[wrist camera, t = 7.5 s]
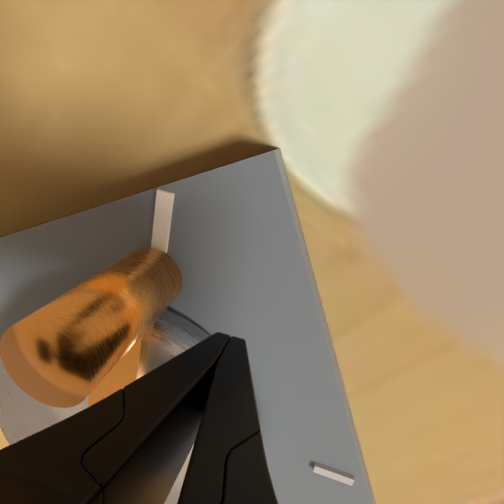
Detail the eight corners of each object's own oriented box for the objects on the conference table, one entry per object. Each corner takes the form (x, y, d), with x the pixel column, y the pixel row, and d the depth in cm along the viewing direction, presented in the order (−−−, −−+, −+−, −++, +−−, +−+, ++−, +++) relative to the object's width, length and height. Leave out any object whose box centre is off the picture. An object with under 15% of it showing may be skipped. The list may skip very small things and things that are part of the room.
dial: (231, 526, 17) (191, 694, 12) (33, 446, 18) (-80, 567, 13) (315, 293, 12) (308, 420, 6) (22, 201, 13) (-178, 246, 8)
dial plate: (-59, 256, 17) (-97, 268, 16) (279, 148, 12) (272, 150, 10) (92, 505, 23) (74, 532, 21) (377, 509, 17) (382, 547, 16)
